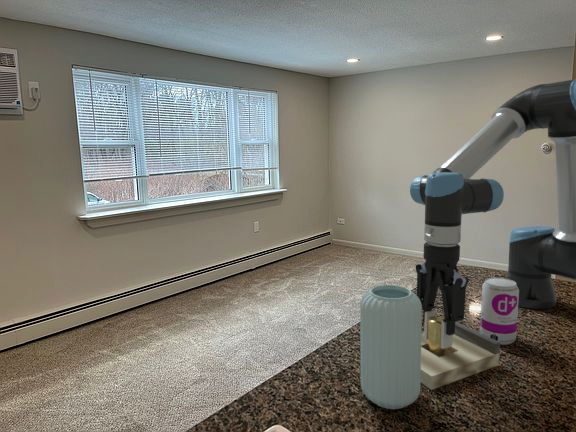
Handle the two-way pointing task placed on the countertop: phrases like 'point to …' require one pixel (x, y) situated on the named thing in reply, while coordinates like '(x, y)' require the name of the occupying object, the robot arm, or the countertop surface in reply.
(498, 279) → the supplement can
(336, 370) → the countertop surface
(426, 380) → the jig
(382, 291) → the vase
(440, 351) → the brass cylinder
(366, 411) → the countertop surface
